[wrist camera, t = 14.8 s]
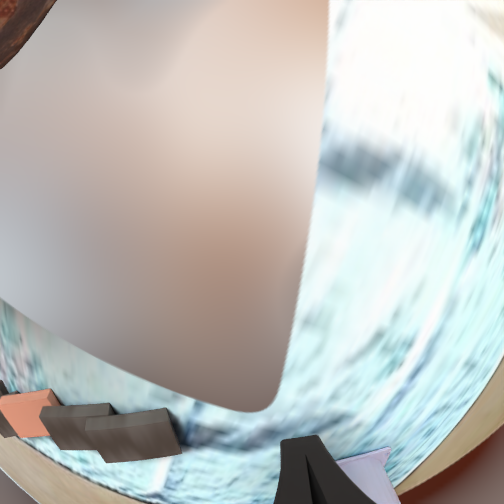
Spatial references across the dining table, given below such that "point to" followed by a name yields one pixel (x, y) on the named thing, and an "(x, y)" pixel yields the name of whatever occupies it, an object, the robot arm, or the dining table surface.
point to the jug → (19, 24)
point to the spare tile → (27, 411)
